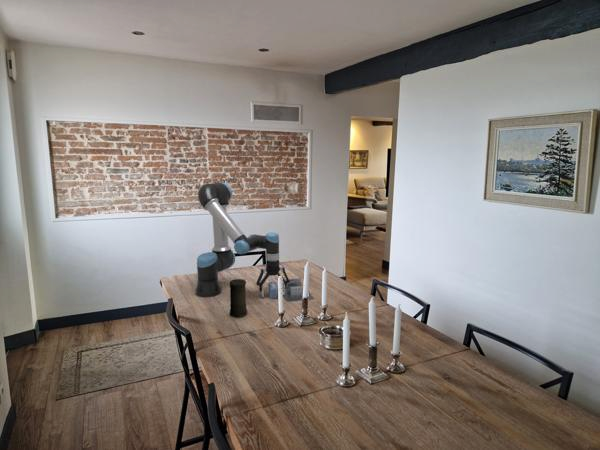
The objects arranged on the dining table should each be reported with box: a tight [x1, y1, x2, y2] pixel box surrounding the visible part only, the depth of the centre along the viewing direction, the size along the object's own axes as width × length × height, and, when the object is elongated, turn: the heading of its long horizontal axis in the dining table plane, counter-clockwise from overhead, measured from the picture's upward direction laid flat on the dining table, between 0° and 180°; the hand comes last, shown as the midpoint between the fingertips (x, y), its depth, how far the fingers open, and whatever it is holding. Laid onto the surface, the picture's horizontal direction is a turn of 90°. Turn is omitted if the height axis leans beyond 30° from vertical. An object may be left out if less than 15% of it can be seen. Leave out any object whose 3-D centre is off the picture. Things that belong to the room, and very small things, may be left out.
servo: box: [267, 281, 279, 299], centre depth 229 cm, size 9×4×9 cm, turn 16°
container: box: [229, 278, 248, 319], centre depth 203 cm, size 9×9×18 cm
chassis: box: [283, 277, 315, 303], centre depth 233 cm, size 20×16×8 cm
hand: (273, 295), depth 230 cm, fingers open, 12 cm apart
